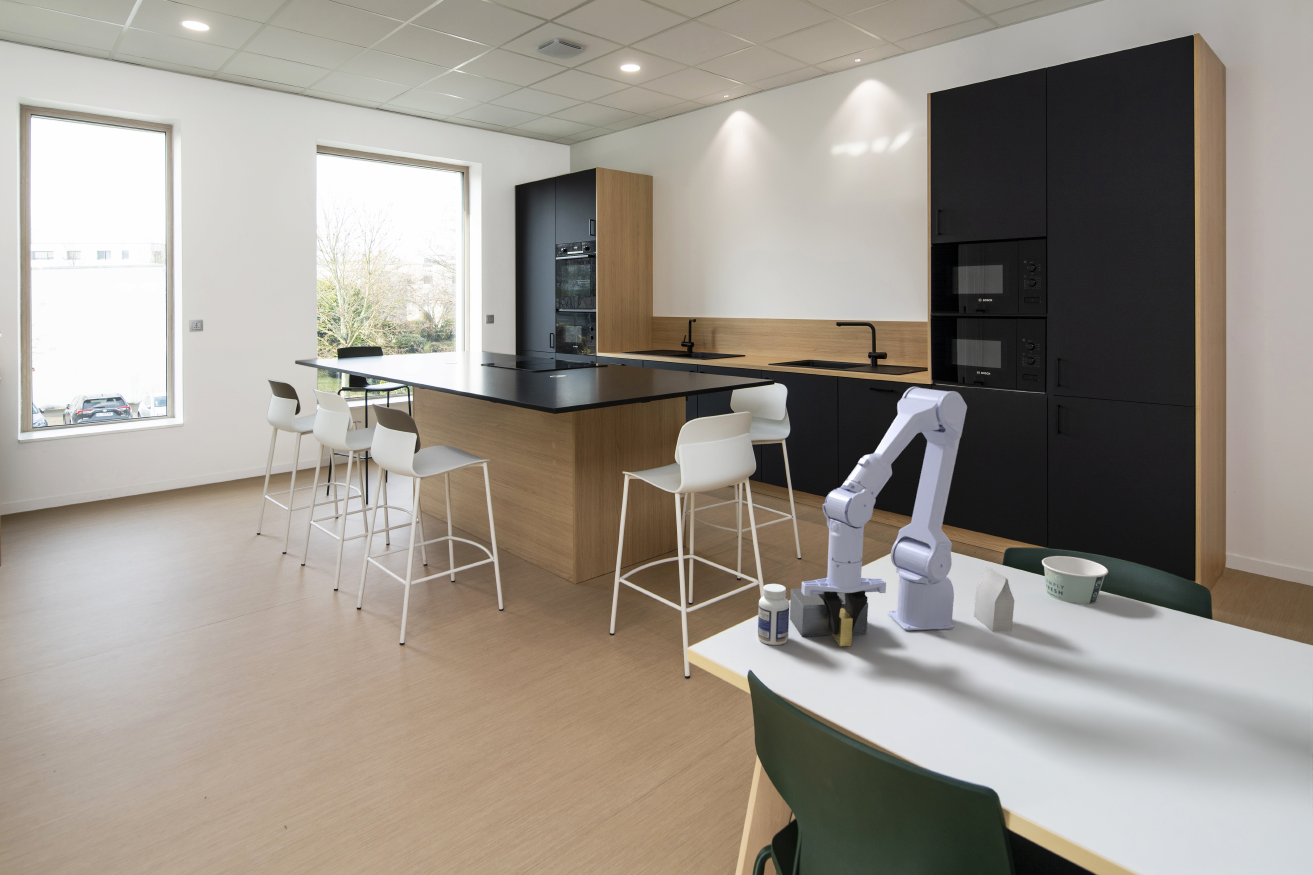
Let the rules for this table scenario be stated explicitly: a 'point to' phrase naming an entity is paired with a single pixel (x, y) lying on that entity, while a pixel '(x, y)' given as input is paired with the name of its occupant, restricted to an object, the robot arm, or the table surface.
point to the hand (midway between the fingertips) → (841, 631)
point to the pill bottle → (773, 615)
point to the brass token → (844, 629)
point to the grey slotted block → (819, 615)
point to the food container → (1073, 579)
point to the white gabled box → (994, 602)
